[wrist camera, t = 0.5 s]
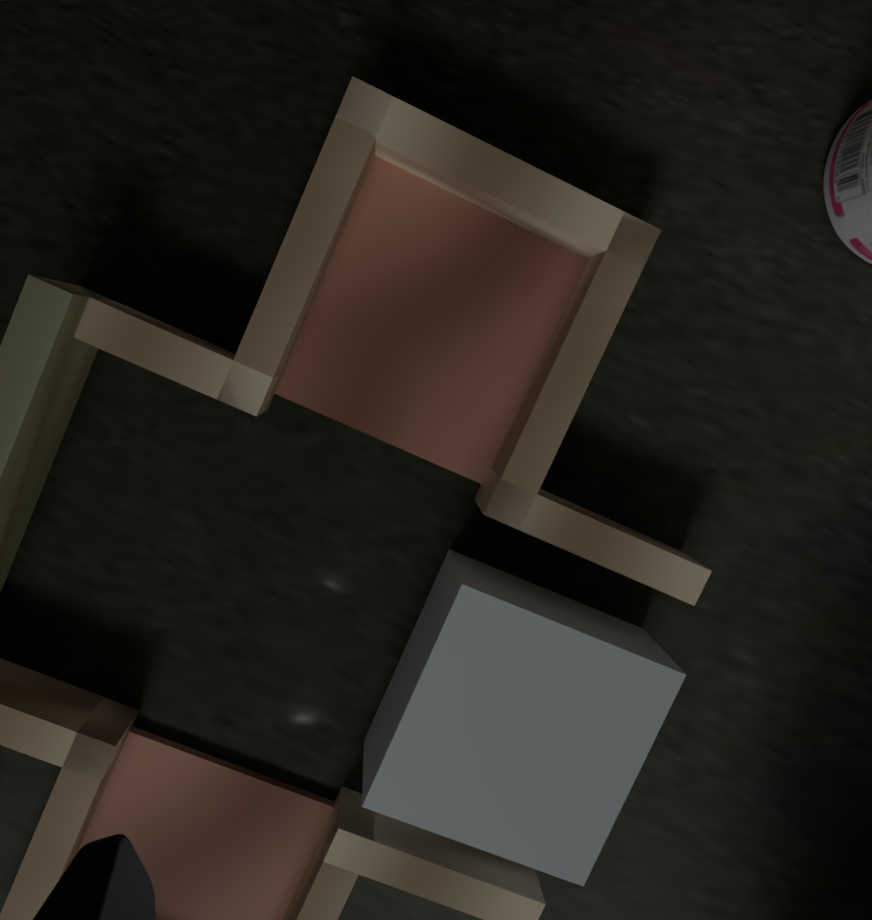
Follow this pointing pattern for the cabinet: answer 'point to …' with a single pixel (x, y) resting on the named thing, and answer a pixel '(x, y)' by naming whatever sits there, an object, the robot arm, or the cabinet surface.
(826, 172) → the pill bottle
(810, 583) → the cabinet surface
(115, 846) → the robot arm
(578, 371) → the box
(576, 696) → the block
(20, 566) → the cabinet surface
